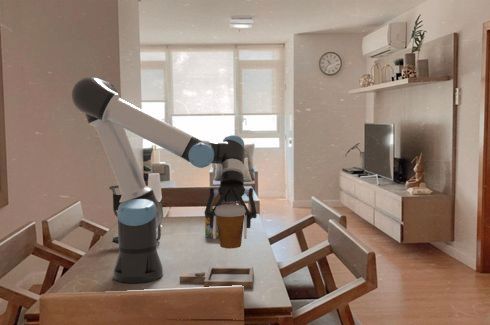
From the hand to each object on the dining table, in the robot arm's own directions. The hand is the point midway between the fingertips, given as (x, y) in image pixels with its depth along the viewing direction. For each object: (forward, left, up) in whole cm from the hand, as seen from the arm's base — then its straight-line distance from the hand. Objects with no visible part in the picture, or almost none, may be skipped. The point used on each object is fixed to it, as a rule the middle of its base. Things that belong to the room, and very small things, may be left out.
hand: (229, 236), depth 156 cm
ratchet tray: (-4, +3, -15) cm, 15 cm away
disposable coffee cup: (0, +3, -4) cm, 5 cm away
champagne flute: (-39, +80, -15) cm, 90 cm away
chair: (-41, +52, -15) cm, 68 cm away
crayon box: (-10, +60, -15) cm, 63 cm away
